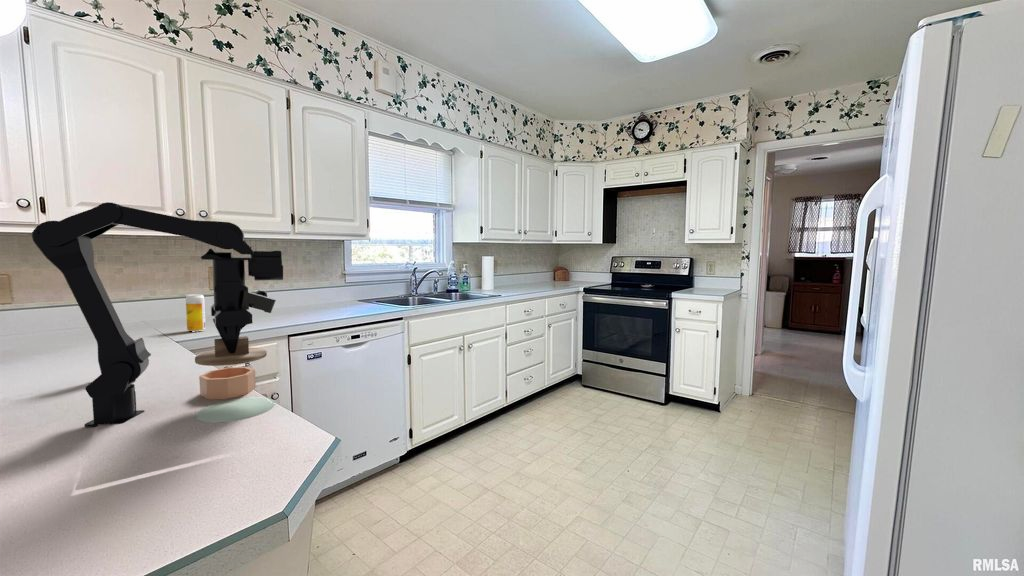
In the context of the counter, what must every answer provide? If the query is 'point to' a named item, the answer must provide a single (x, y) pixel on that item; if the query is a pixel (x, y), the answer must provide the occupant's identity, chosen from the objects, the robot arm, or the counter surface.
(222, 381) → the terracotta bowl
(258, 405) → the sage mat
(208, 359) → the walnut lid
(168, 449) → the counter surface
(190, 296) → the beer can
